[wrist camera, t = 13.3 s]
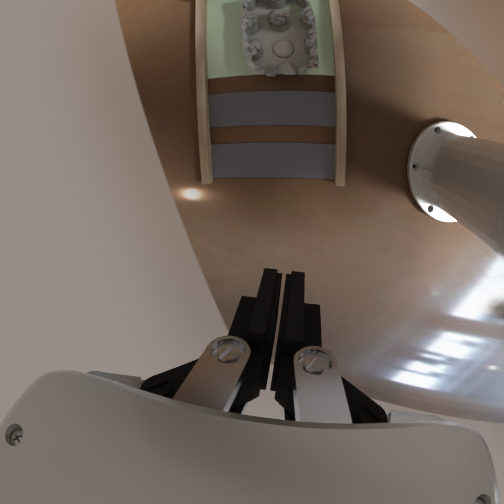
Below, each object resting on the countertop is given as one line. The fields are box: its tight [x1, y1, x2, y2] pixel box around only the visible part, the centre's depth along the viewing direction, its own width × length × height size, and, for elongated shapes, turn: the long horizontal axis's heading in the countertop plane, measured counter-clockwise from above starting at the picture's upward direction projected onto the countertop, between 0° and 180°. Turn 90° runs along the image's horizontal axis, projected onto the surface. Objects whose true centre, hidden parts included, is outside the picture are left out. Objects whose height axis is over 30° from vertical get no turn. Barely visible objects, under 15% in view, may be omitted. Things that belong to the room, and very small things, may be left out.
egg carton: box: [241, 0, 319, 77], centre depth 21 cm, size 11×8×4 cm
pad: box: [207, 0, 334, 79], centre depth 23 cm, size 14×12×1 cm
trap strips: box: [208, 91, 336, 179], centre depth 28 cm, size 14×10×1 cm
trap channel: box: [195, 0, 346, 186], centre depth 24 cm, size 16×25×2 cm, turn 2°
